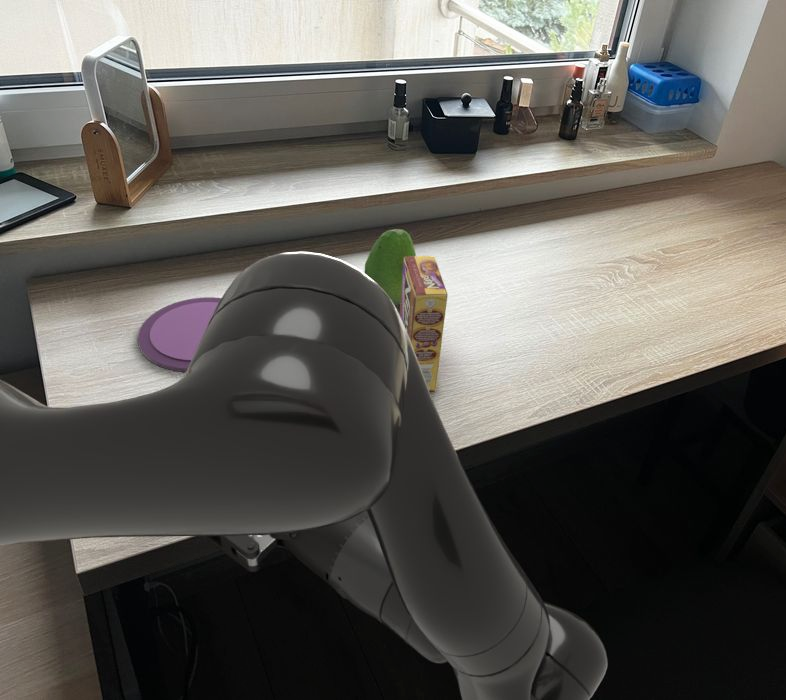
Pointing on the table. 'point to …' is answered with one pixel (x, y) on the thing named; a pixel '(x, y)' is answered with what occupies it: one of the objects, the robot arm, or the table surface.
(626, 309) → the table surface
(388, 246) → the avocado
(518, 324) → the table surface
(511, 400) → the table surface
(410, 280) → the candy box
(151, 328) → the plum dish
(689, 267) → the table surface
